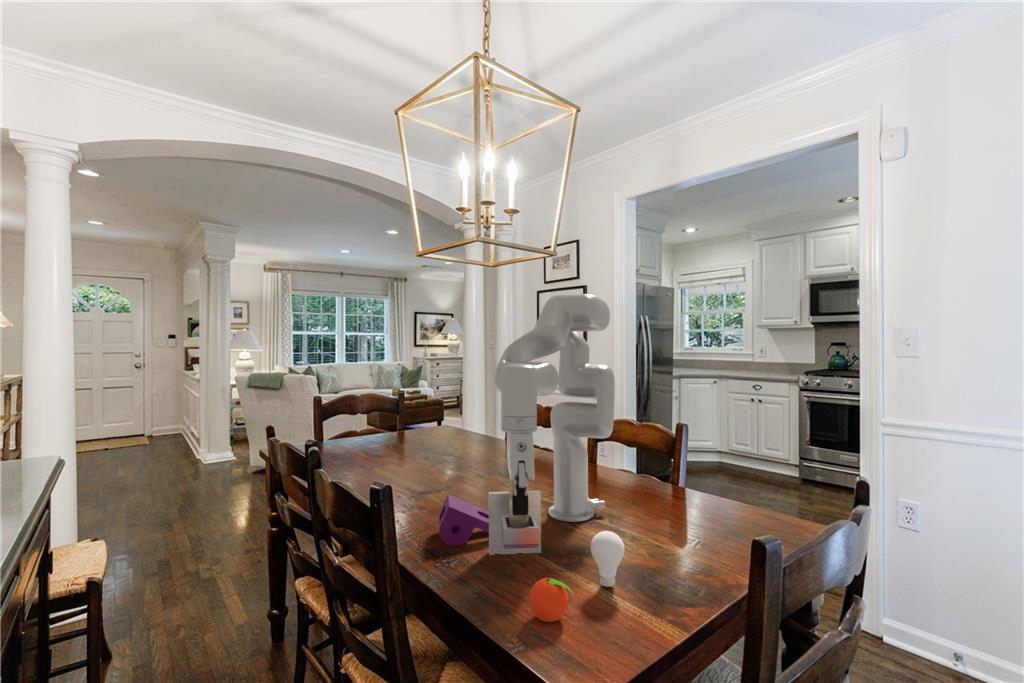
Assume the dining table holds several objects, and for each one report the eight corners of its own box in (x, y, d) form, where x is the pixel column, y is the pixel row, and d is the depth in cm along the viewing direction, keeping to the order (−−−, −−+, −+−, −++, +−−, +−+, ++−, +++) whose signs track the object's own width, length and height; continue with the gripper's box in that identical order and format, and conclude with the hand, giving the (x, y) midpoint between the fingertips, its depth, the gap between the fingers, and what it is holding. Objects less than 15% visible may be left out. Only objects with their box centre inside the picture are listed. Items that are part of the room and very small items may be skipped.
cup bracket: (540, 549, 114) (539, 490, 114) (550, 582, 99) (550, 513, 99) (488, 552, 113) (488, 492, 113) (491, 585, 98) (491, 515, 98)
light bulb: (584, 586, 97) (583, 532, 97) (603, 575, 101) (603, 523, 101) (612, 599, 92) (612, 542, 92) (631, 586, 97) (631, 531, 97)
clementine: (576, 611, 88) (576, 572, 88) (571, 634, 81) (571, 592, 81) (533, 605, 90) (533, 567, 90) (525, 627, 83) (525, 586, 83)
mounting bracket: (496, 549, 128) (434, 524, 125) (510, 520, 128) (448, 493, 126) (501, 566, 118) (433, 539, 116) (515, 534, 119) (449, 506, 116)
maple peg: (527, 521, 104) (527, 465, 104) (529, 528, 100) (529, 470, 100) (508, 522, 103) (508, 466, 103) (510, 529, 99) (510, 471, 99)
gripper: (542, 430, 94) (542, 525, 94) (531, 416, 110) (531, 497, 110) (503, 430, 93) (504, 526, 93) (498, 417, 110) (498, 498, 110)
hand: (519, 509), depth 102 cm, fingers closed on maple peg, 4 cm apart
